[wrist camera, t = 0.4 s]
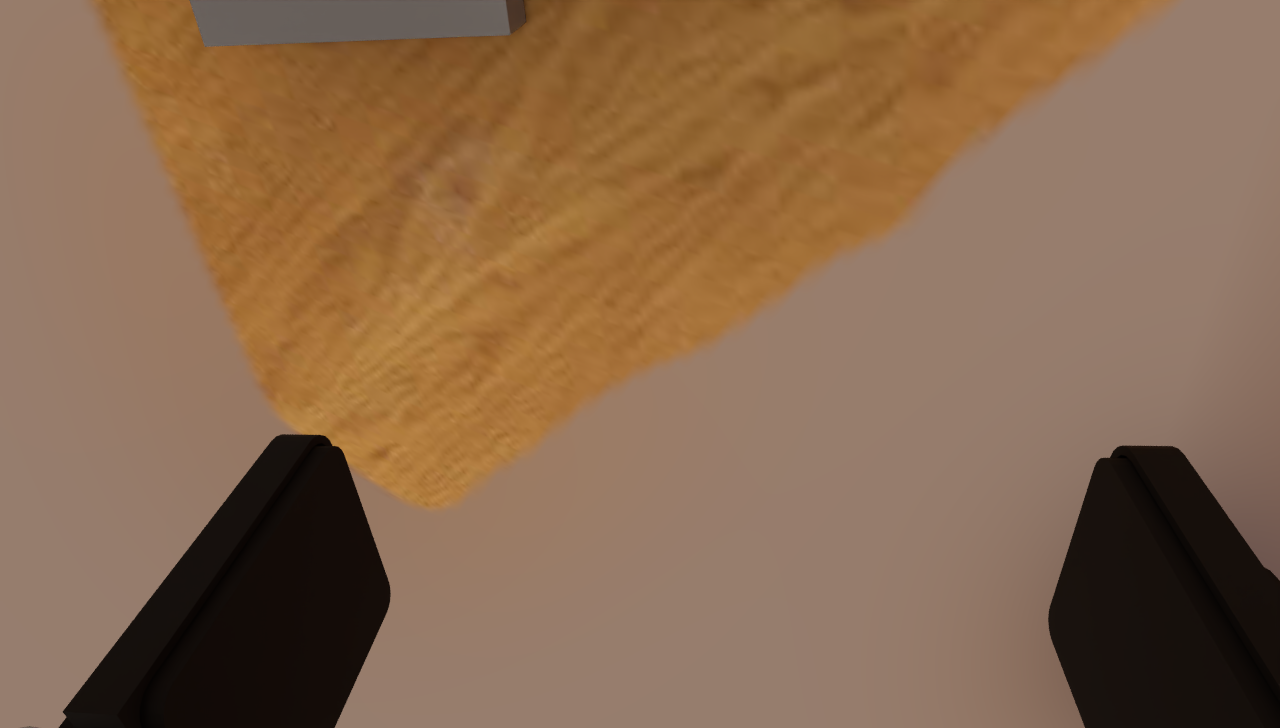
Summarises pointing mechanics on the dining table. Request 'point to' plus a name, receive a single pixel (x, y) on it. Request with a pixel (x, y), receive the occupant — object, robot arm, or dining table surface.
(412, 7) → the tray
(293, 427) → the dining table surface
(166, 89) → the dining table surface
